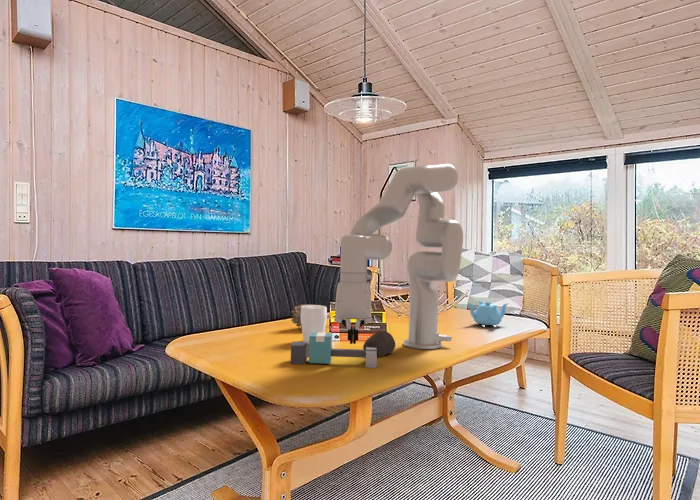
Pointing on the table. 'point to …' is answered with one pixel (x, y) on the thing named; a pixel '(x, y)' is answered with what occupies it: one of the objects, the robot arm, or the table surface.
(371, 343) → the stone
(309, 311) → the cup
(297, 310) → the pine cone
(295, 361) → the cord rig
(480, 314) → the teapot
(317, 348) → the sleeve
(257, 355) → the table surface
